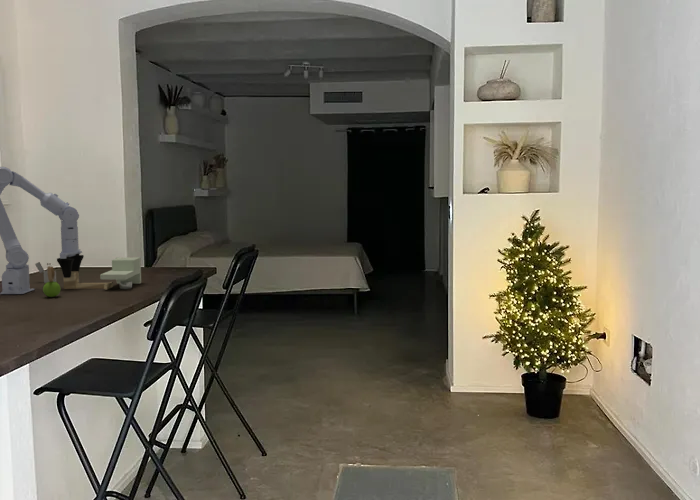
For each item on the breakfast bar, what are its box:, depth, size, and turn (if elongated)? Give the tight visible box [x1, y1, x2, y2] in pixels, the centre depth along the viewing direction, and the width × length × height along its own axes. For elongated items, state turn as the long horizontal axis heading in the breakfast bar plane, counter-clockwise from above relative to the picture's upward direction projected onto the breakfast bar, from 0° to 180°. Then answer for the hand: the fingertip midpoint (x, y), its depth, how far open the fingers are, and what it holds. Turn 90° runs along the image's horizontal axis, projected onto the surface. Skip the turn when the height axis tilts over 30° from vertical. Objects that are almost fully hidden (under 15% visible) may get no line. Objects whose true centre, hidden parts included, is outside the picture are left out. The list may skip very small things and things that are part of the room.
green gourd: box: [42, 262, 61, 298], centre depth 214 cm, size 5×6×12 cm
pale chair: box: [99, 256, 142, 285], centre depth 238 cm, size 20×9×10 cm, turn 3°
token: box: [119, 281, 133, 290], centre depth 236 cm, size 4×4×2 cm
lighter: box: [34, 261, 57, 284], centre depth 248 cm, size 7×2×8 cm, turn 100°
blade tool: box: [63, 270, 114, 291], centre depth 235 cm, size 7×16×6 cm, turn 93°
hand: (71, 276), depth 234 cm, fingers open, 7 cm apart
